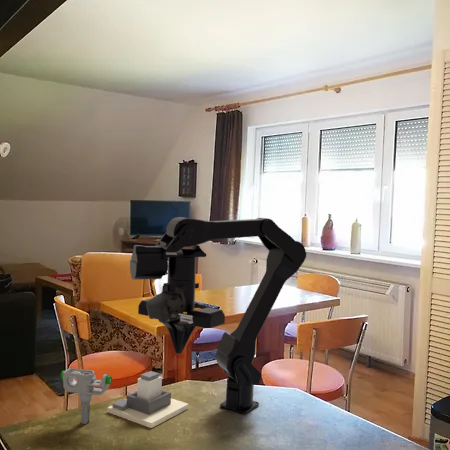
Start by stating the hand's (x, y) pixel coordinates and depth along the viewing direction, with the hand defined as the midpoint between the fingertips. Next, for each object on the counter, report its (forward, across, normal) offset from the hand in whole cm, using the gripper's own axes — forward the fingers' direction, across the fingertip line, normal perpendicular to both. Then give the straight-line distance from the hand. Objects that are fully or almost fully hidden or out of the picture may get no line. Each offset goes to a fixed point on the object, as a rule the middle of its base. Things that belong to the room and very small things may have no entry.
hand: (178, 353), depth 105 cm
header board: (+13, -6, -2) cm, 14 cm away
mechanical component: (+13, -12, -14) cm, 23 cm away
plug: (+12, -6, -2) cm, 13 cm away
